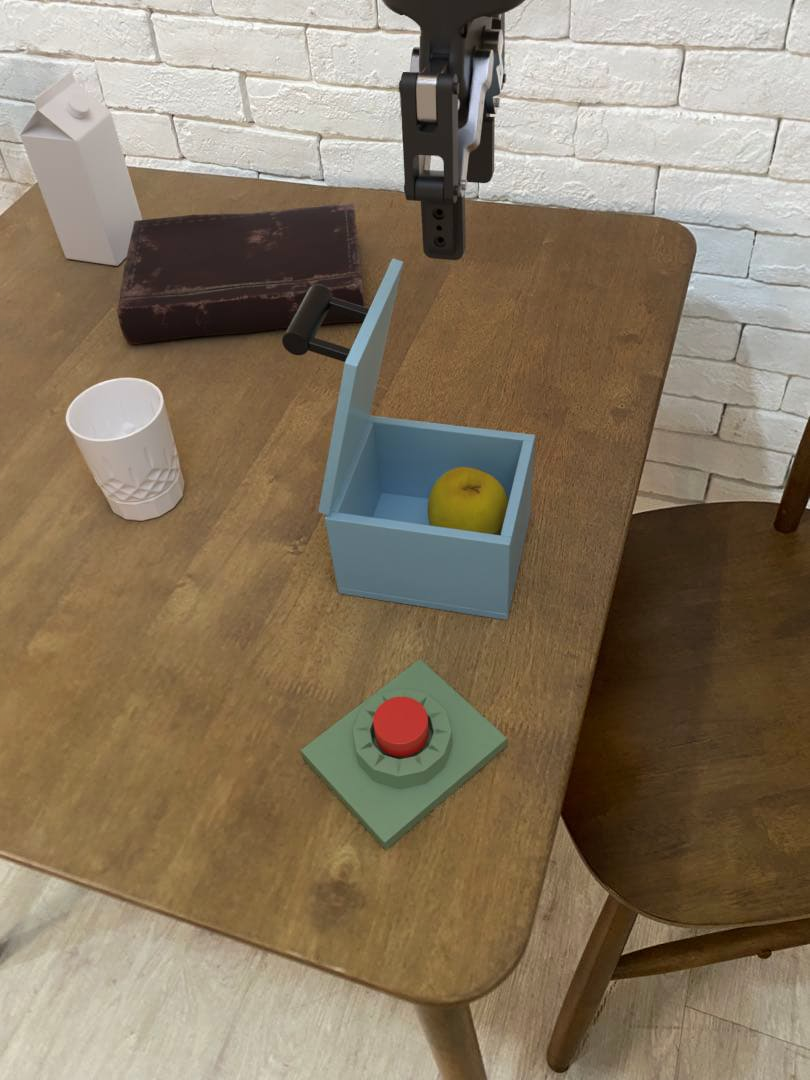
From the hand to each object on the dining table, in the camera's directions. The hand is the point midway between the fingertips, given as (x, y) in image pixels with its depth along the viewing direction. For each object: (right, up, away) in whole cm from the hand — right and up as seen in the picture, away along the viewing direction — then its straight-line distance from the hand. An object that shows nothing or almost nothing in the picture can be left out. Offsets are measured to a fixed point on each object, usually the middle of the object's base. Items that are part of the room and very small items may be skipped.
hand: (460, 215), depth 54 cm
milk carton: (-39, +16, +58) cm, 72 cm away
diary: (-20, +9, +50) cm, 55 cm away
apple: (+2, -19, +22) cm, 30 cm away
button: (-3, -32, +9) cm, 33 cm away
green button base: (-3, -33, +11) cm, 35 cm away
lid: (-6, -8, +12) cm, 16 cm away
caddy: (-1, -20, +23) cm, 30 cm away
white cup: (-26, -15, +30) cm, 42 cm away
